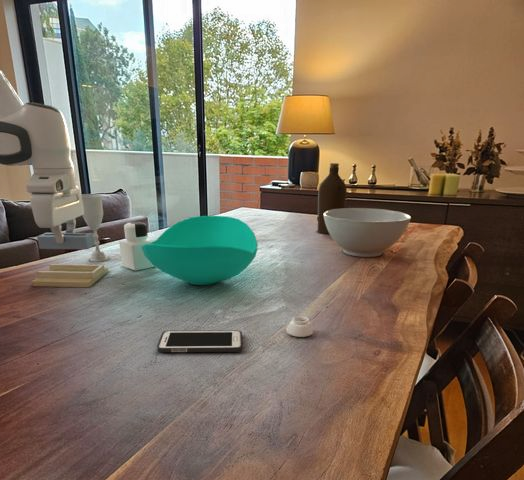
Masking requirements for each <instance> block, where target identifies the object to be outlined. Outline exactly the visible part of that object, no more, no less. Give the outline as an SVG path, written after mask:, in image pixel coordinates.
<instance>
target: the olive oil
mask: <svg viewBox="0 0 524 480" xmlns="http://www.w3.org/2000/svg"><path fill="white" fill-rule="evenodd" d="M339 165H340V164H339V163H338V162H330V164H329V173H328V175H327V176H326V177H325V178H324V179H323V180H322V181H321V183H320V184H319V187H318V193H317V217H316V220H317V233H319V234H323V235H324V234H325V235H330V234H329V232H328V230H327V227H326V224H325V220H324V212H325V211H328V210H332V209H342V208H345V207H346V199H347V191H348V190H347V185H346V183H345V181H344V180H343V178H341V176H340V174H339V170H340V167H339Z"/></svg>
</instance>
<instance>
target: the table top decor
mask: <svg viewBox="0 0 524 480" xmlns="http://www.w3.org/2000/svg"><path fill="white" fill-rule="evenodd" d="M153 241H154V242H152V243H150V244H144V245H143V246H142V250H143V253H144V255H145V257H146V258H147V259H148V260H149V261H150V262H151V263H152V264H153V265H154V266H155V267H154V268H157V269H158V270H160V271H161V272H163V273H164V274H167V275H169V276H171V277H174V278H176V279H179V280H182V281H184V282H186V283H188V284H190V285H193V286H210V285H214V284H216V283H218V282H222V281H226V280H230V279H231V278H233V277H236V276H238V275H239V274H240V273H241V272H243V271H244V270H246V269H247V268H248V267H249V266H250V265H251V263H252V262H253V261H254V259H255V258H256V256H257V252H258V246H259V245H258V240H257V237H256V234H255V232H254V231H253V230H252V228H251V227H250V225H248V224H247V223H245V222H244V221H243V220H240V219H239V218H236V217H231V216H224V215H200V216H193V217H192V216H191V217H189V218H186V219H183V220H180V221H178V222H176V223H174V224H173V225H172V226H170V227H168V228H167V229H165V230H164V232H162V233H161V234H160V236H159V237H158V238H157V239H156V240H153Z"/></svg>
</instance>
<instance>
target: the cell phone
mask: <svg viewBox="0 0 524 480" xmlns="http://www.w3.org/2000/svg"><path fill="white" fill-rule="evenodd" d="M156 350H157V352H159V353H237V352H241V351H242V350H243V332H242V331H241V330H238V329H235V330H233V329H231V330H229V329H226V330H224V329H221V330H220V329H219V330H218V329H217V330H215V329H214V330H213V329H212V330H209V329H207V330H205V329H204V330H163V331H162V333H161V335H160V338H159V340H158V343H157V346H156Z"/></svg>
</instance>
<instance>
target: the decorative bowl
mask: <svg viewBox="0 0 524 480" xmlns="http://www.w3.org/2000/svg"><path fill="white" fill-rule="evenodd" d="M411 219H412V217H411V216H410V214H408V213H405V212H401V211H396V210H391V209H383V208H382V209H381V208H370V207H369V208H367V207H346V208H342V209H332V210H328V211H325V212H324V220H325V224H326V227H327V230H328V232H329V234H328V235H330V237H331V239H332V240H333V241H334V242H335V243H336V244H337V245H338V246H339V247H340V248H342V249H343V250H342V251H343V253H344V254H346V255H349V256H353V257H358V258H359V257H361V258H374V257H375V258H376V257H379V256H382V255H383V252H384V251H386V250H388V249H390V248H391V247H392V246H394V245H395V244H396V243H397V242H398V240H400V239H401V238H402V236H404V233H405V232H406V230H407V228H408V226H409V224H410V222H411Z"/></svg>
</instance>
